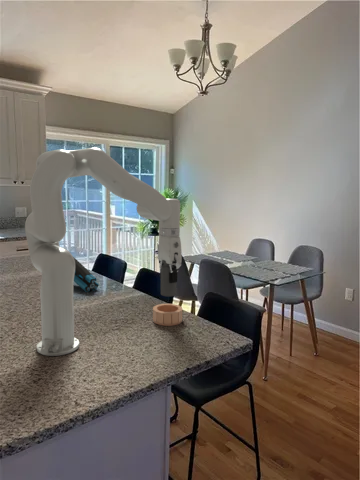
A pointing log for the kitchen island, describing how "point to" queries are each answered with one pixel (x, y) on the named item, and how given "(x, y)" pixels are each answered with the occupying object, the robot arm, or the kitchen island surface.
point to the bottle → (167, 281)
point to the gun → (84, 277)
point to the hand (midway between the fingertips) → (168, 280)
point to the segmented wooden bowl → (167, 314)
